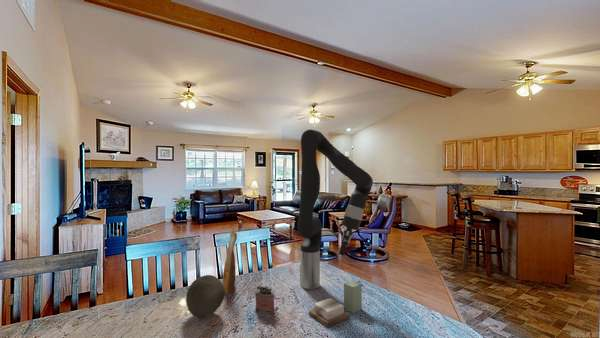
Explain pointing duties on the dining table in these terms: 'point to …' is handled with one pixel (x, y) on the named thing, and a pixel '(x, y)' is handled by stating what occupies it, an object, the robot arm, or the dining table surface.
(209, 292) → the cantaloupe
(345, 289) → the green post
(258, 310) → the lighter
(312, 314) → the build base
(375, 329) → the dining table surface
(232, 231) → the pancake mix bag
